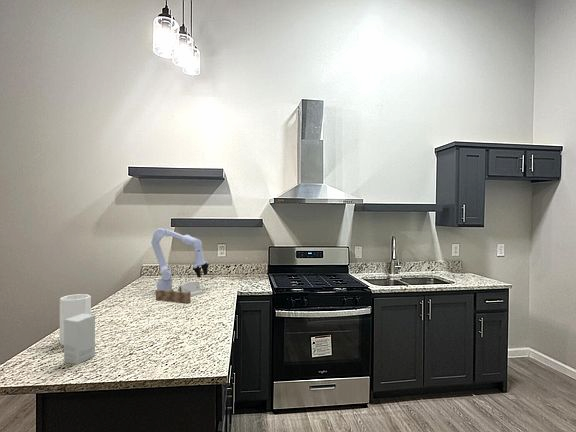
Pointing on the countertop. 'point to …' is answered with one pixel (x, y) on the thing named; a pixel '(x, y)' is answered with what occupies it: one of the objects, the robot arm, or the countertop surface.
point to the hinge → (191, 288)
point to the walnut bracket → (173, 296)
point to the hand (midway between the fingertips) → (202, 276)
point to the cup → (73, 309)
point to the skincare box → (79, 338)
